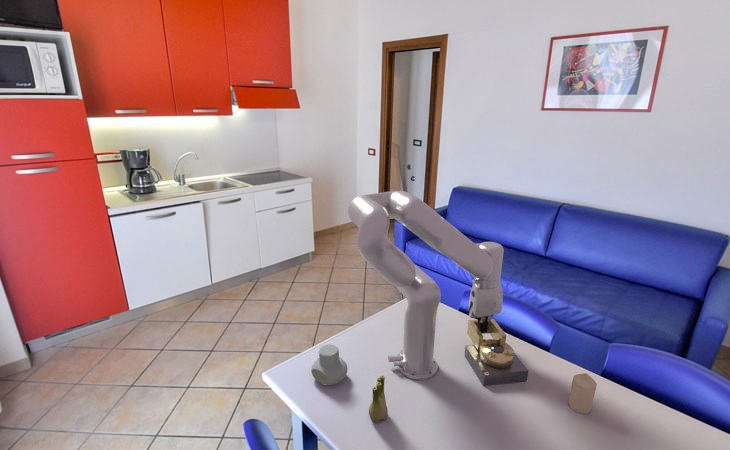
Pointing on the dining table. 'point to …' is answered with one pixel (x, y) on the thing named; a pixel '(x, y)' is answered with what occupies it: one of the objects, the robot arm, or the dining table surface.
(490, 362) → the brass mechanical fitting
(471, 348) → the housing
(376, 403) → the fennel bulb
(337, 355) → the air freshener
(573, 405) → the candle
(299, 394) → the dining table surface
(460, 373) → the dining table surface
